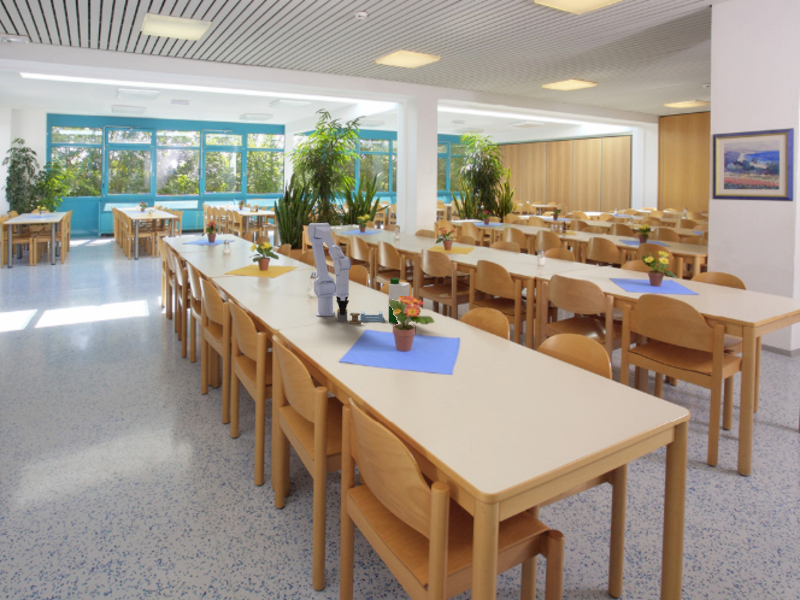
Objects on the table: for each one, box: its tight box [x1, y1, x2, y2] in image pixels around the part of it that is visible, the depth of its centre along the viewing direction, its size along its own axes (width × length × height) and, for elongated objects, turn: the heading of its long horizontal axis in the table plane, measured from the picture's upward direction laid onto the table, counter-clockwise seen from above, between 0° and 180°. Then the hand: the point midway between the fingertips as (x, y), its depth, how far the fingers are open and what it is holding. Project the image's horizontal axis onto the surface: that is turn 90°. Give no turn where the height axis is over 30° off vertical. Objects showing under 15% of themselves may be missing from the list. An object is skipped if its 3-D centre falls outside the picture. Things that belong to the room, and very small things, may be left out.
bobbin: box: [348, 312, 362, 325], centre depth 258 cm, size 5×5×4 cm
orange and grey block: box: [336, 308, 348, 323], centre depth 261 cm, size 3×4×5 cm
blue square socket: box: [359, 310, 384, 323], centre depth 264 cm, size 9×11×3 cm
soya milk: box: [387, 277, 410, 324], centre depth 260 cm, size 9×9×20 cm
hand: (342, 313), depth 260 cm, fingers open, 7 cm apart
